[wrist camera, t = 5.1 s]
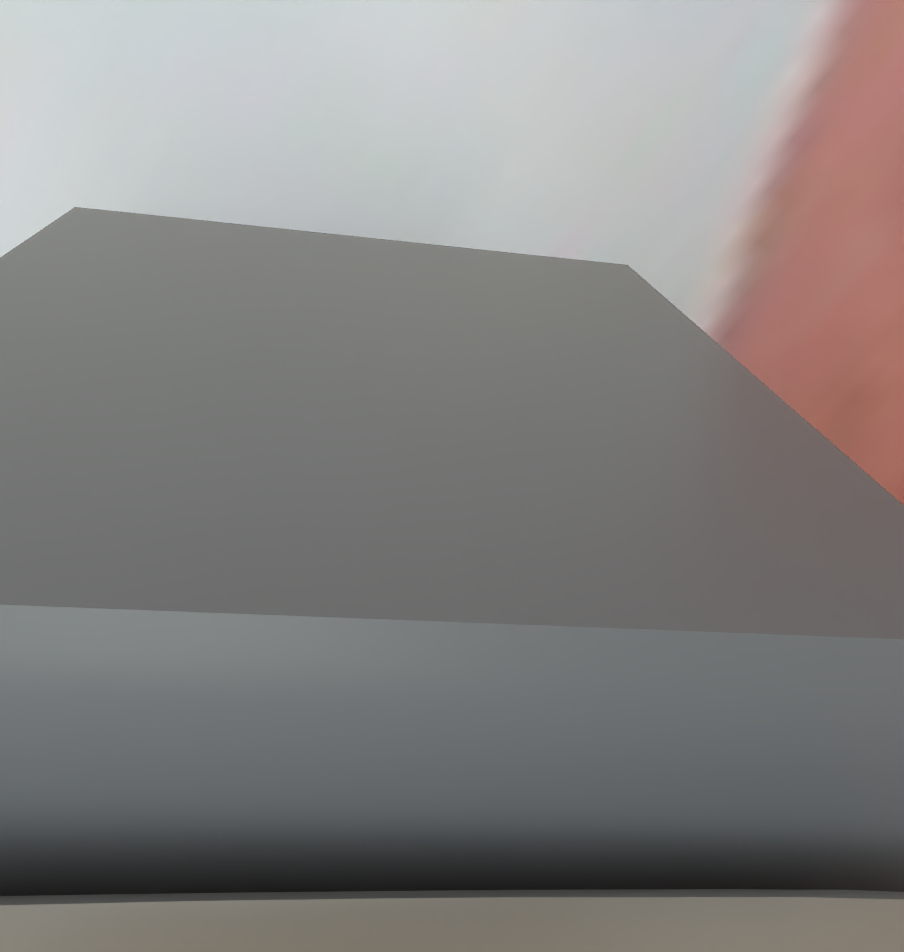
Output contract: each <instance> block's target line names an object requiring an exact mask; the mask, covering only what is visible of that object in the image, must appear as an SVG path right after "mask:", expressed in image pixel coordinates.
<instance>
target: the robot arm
mask: <svg viewBox="0 0 904 952" xmlns="http://www.w3.org/2000/svg"><path fill="white" fill-rule="evenodd" d="M0 952H904V892H895V891H868V890H778V889H614V890H445V891H337V892H243V893H170V894H104V895H39V896H0Z"/></svg>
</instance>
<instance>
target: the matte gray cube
mask: <svg viewBox="0 0 904 952" xmlns="http://www.w3.org/2000/svg"><path fill="white" fill-rule="evenodd" d="M614 889H778V890H868V891H895V892H904V505H903V504H902V503H900V502H899V501H898V500H897V499H896V498H895V497H894V496H892V495H891V494H890V493H889V492H888V491H887V490H885V489H884V488H883V487H882V486H881V485H880V484H879V483H877V482H876V481H875V480H874V479H873V478H872V477H871V476H869V475H868V474H867V473H866V472H865V471H864V470H863V469H861V468H860V467H859V466H858V465H857V464H856V463H854V462H853V461H852V460H851V459H850V458H849V457H848V456H846V455H845V454H844V453H843V452H842V451H841V450H840V449H838V448H837V447H836V446H835V445H834V444H833V443H831V442H830V441H829V440H828V439H827V438H826V437H825V436H823V435H822V434H821V433H820V432H819V431H818V430H817V429H815V428H814V427H813V426H812V425H811V424H810V423H808V422H807V421H806V420H805V419H804V418H803V417H802V416H800V415H799V414H798V413H797V412H796V411H795V410H794V409H792V408H791V407H790V406H789V405H788V404H787V403H785V402H784V401H783V400H782V399H781V398H780V397H779V396H777V395H776V394H775V393H774V392H773V391H772V390H771V389H769V388H768V387H767V386H766V385H765V384H764V383H763V382H761V381H760V380H759V379H758V378H757V377H756V376H754V375H753V374H752V373H751V372H750V371H749V370H748V369H746V368H745V367H744V366H743V365H742V364H741V363H740V362H738V361H737V360H736V359H735V358H734V357H733V356H731V355H730V354H729V353H728V352H727V351H726V350H725V349H723V348H722V347H721V346H720V345H719V344H718V343H717V342H715V341H714V340H713V339H712V338H711V337H710V336H708V335H707V334H706V333H705V332H704V331H703V330H702V329H700V328H699V327H698V326H697V325H696V324H695V323H694V322H692V321H691V320H690V319H689V318H688V317H687V316H685V315H684V314H683V313H682V312H681V311H680V310H679V309H677V308H676V307H675V306H674V305H673V304H672V303H671V302H669V301H668V300H667V299H666V298H665V297H664V296H663V295H661V294H660V293H659V292H658V291H657V290H656V289H654V288H653V287H652V286H651V285H650V284H649V283H648V282H646V281H645V280H644V279H643V278H642V277H641V276H640V275H638V274H637V273H636V272H635V271H634V270H633V269H631V268H630V267H629V266H628V265H622V264H613V263H603V262H594V261H584V260H574V259H565V258H555V257H546V256H536V255H527V254H517V253H508V252H498V251H489V250H479V249H470V248H460V247H451V246H441V245H432V244H422V243H413V242H403V241H393V240H384V239H374V238H365V237H355V236H346V235H336V234H327V233H317V232H308V231H298V230H289V229H279V228H270V227H260V226H251V225H241V224H232V223H222V222H212V221H203V220H193V219H184V218H174V217H165V216H155V215H146V214H136V213H127V212H117V211H108V210H98V209H89V208H79V207H74V208H73V209H71V210H70V211H69V212H67V213H66V214H64V215H63V216H61V217H60V218H58V219H57V220H55V221H54V222H52V223H51V224H49V225H48V226H46V227H45V228H43V229H42V230H40V231H39V232H38V233H36V234H35V235H33V236H32V237H30V238H29V239H27V240H26V241H24V242H23V243H21V244H20V245H18V246H17V247H15V248H14V249H12V250H11V251H10V252H8V253H7V254H5V255H4V256H2V257H1V258H0V896H39V895H104V894H170V893H243V892H337V891H445V890H614Z"/></svg>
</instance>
